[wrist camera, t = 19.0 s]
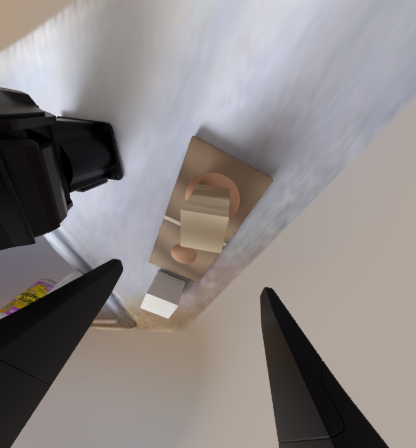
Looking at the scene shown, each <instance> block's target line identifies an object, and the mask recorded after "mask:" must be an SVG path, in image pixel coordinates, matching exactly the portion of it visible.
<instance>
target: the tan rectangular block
mask: <svg viewBox="0 0 416 448" xmlns="http://www.w3.org/2000/svg"><path fill="white" fill-rule="evenodd" d="M229 205H230V189H227V188H221V187H214V186H208V185H201V184H197V186H196V187H195V189H194V190H193V192H192V193H191V195H190V196H189V198H188V199H187V201H186V202H185V204H184V205H183V207H182V209H181V237H180V246H182V247H187V248H193V249H199V250H204V251H210V252H216V253H221V252H222V248H223V243H224V238H225V234H226V229H227V224H228V220H229Z"/></svg>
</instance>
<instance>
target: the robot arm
mask: <svg viewBox="0 0 416 448" xmlns="http://www.w3.org/2000/svg"><path fill="white" fill-rule="evenodd" d="M106 126H107V127H108V130H107V128H106ZM117 175H118V176H119V177H117ZM107 179H112V180H121V179H122V172H121V167H120V163H119V158H118V153H117V148H116V144H115V139H114V134H113V129H112V126H111V125H110V124H109V123H107V122H100V121H92V120H85V119H77V118H69V117H61V116H58V117H56V116H55V115H53V114H51V113H48V112H46V111H43V110H41V109H39V106H38V105H36V104H35V102H34V101H33V100H32V99H31V97H30V96H29V95H28V94H26V93H23V92H21V91H17V90H12V89H6V88H1V87H0V250H3V249H7V248H12V247H16V246H24V245H31V244H35V243H36V241H35V239H34V238H35V237H38V236H41V235H44V234H46V233H49V232H51V231H53V230H55V229H57V228H59V227H60V223H61V222H62V221H63V220H64V219H65V218H66V217H67V212H68V210H69V209H70V208H71V207H72V206H73V203H72V200H71V199H70V194H69V193H71V192H73V191H78V192H85V191H88V190H90V189H92V188H95V187H97V186H100V185H102V184H104V183H107V181H108V180H107ZM122 272H123V266H122V263H121V260H119V259H112V260H110V261H108V262H106V263H104V264H102V265H100V266H99V267H97V268H95V269H93V270H91V271H89V272H88V273H86V274H84V275H82V276H80V277H78V278H76V279H75V280H73V281H71V282H69V283H67V284H65V285H64V286H62V287H60V288H58V289H56V290H54V291H52V292H51V293H49V294H47V295H45V296H43V297H41V298H39V299H38V300H36V301H34V302H32V303H30V304H28V305H26V306H25V307H23V308H21V309H19V310H17V311H15V312H13V313H11V314H9V315H7V316H5V317H3V318H1V319H0V448H10V447H11V446H12V444H13V443H14V441H15V440H16V438H17V437H18V435H19V434H20V432H21V430H22V429H23V428H24V426H25V425H26V423H27V421H28V420H29V418H30V417H31V415H32V414H33V412H34V411H35V409H36V408H37V406H38V405H39V403H40V401H41V400H42V399H43V397H44V396H45V394H46V393H47V391H48V389H49V388H50V386H51V385H52V383H53V382H54V380H55V379H56V377H57V376H58V374H59V372H60V371H61V369H62V368H63V366H64V365H65V363H66V362H67V360H68V359H69V357H70V356H71V354H72V352H73V351H74V350H75V348H76V347H77V345H78V343H79V342H80V340H81V339H82V337H83V336H84V334H85V333H86V331H87V330H88V328H89V327H90V325H91V324H92V322H93V321H94V319H95V318H96V316H97V314H98V313H99V311H100V310H101V308H102V307H103V305H104V304H105V302H106V301H107V299H108V298H109V296H110V294H111V293H112V291H113V289H114V287H115V285H116V283H117V281H118V279H119V278H120V276H121V274H122ZM260 304H261V325H262V333H263V340H264V347H265V354H266V361H267V367H268V374H269V381H270V388H271V395H272V402H273V408H274V415H275V422H276V429H277V436H278V442H279V448H389V447H388V446H387V444H386V443H385V442H384V440H383V439H382V438H381V437H380V435H379V434H378V433H377V432H376V430H375V429H374V428H373V427H372V425H371V424H370V423H369V421H368V420H367V419H366V418H365V417H364V415H363V414H362V413H361V411H360V410H359V409H358V407H357V406H356V405H355V404H354V402H353V401H352V400H351V398H350V397H349V396H348V394H347V393H346V392H345V391H344V389H343V388H342V387H341V385H340V384H339V382H338V381H337V380H336V378H335V377H334V375H333V374H332V373H331V371H330V370H329V369H328V367H327V366H326V364H325V363H324V361H322V359H321V357H320V356H319V354H318V353H317V351H316V350H315V349H314V347H313V346H312V344H311V343H310V341H309V340H308V339H307V337H306V336H305V334H304V333H303V331H302V330H301V329H300V327H299V326H298V324H297V323H296V322H295V320H294V319H293V317H292V316H291V314H290V313H289V311H288V310H287V309H286V307H285V306H284V304H283V303H282V301H281V300H280V299H279V297H278V296H277V294H276V293H275V291H274V290H273V289H272V288H268V287H265V288H264V289H263V291H262V293H261V296H260Z"/></svg>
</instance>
